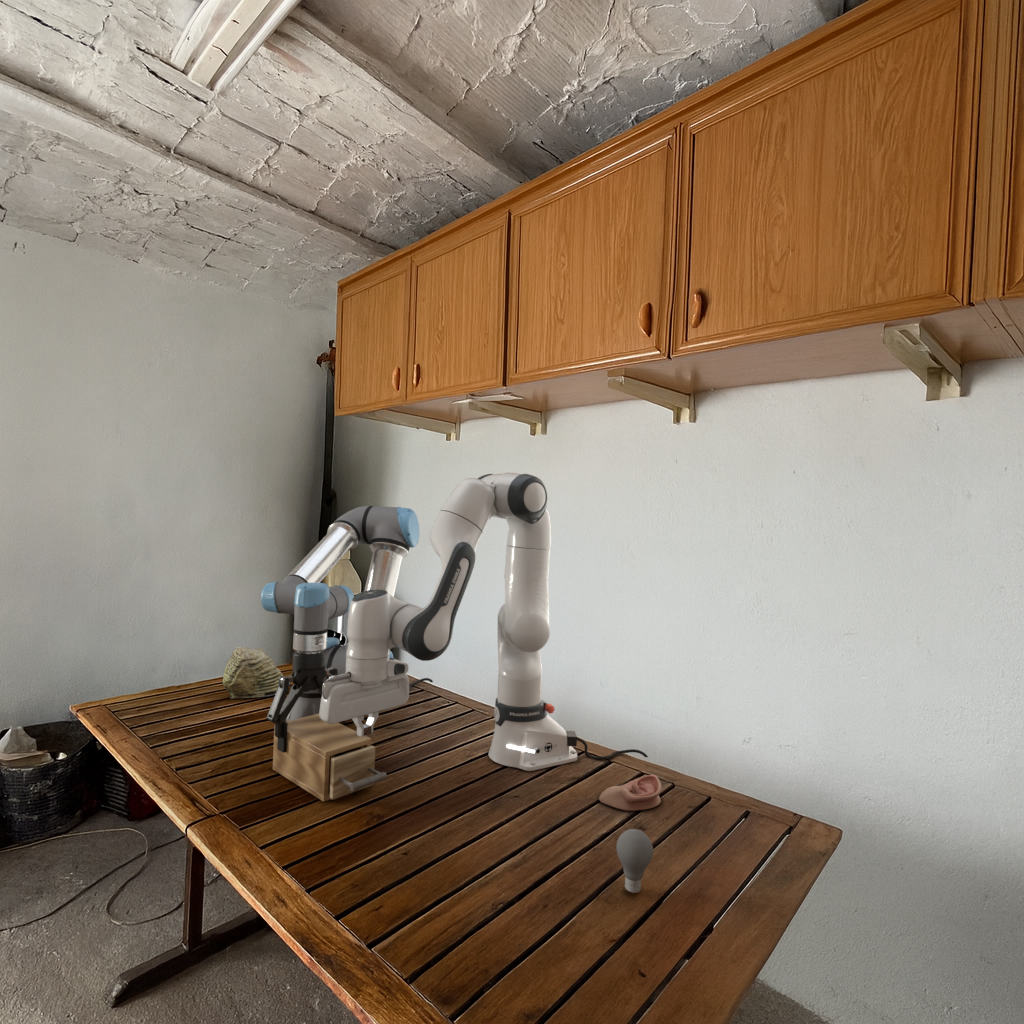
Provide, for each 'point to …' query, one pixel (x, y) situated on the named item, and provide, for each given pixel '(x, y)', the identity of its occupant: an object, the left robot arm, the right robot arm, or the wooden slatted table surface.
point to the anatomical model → (634, 794)
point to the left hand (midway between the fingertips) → (306, 743)
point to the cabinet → (313, 752)
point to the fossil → (251, 674)
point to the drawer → (353, 771)
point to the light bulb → (634, 857)
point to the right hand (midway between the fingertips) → (364, 734)
